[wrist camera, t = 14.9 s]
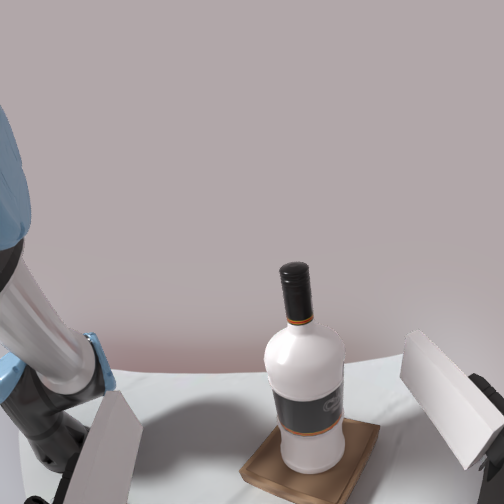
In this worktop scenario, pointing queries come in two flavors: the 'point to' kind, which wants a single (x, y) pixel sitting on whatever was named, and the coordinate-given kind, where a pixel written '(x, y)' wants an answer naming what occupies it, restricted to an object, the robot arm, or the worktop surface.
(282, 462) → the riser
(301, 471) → the vodka
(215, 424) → the worktop surface
